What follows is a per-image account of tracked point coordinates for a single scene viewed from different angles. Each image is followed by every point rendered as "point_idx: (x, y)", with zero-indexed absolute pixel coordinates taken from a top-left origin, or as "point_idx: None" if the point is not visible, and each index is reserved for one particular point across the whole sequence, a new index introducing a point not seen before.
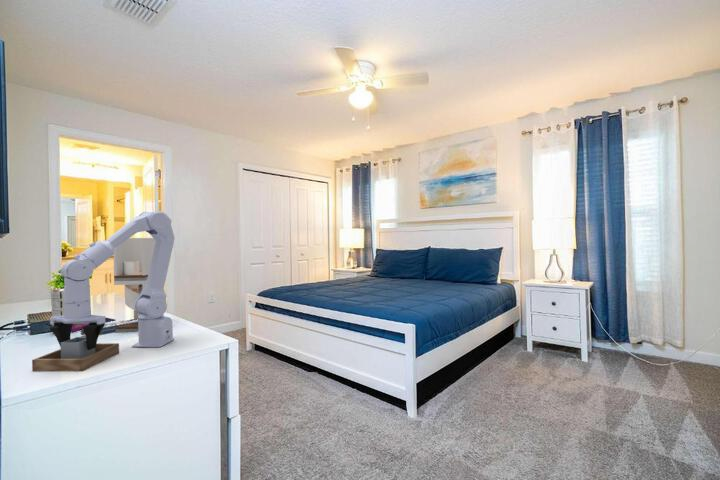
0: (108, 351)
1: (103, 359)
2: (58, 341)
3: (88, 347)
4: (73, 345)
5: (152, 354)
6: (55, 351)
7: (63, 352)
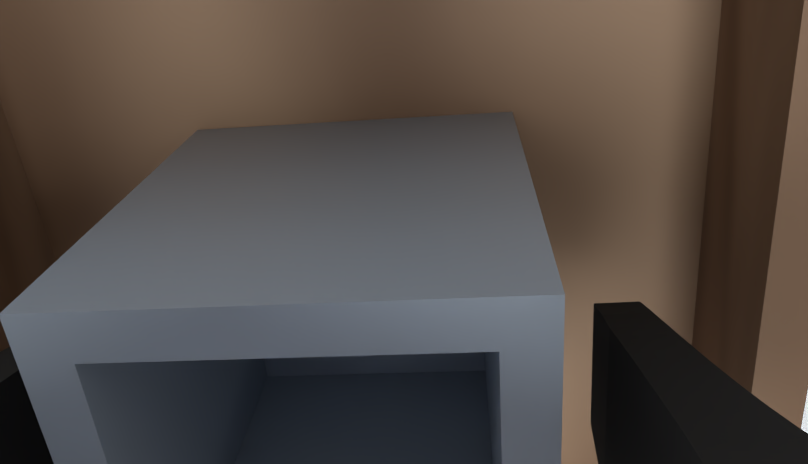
0: None
1: None
2: (738, 389)
3: None
4: (193, 269)
5: None
6: (794, 307)
7: (467, 183)
